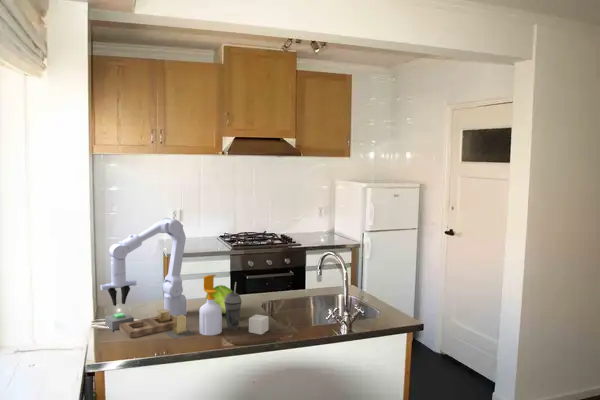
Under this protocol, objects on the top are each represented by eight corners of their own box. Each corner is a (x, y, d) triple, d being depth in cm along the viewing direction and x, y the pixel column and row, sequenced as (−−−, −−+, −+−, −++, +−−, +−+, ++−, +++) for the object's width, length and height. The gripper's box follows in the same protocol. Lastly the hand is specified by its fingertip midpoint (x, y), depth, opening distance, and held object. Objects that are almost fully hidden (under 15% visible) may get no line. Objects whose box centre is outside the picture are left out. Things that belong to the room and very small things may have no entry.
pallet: (170, 320, 225) (169, 313, 225) (182, 328, 216) (182, 321, 215) (119, 331, 211) (119, 324, 211) (130, 339, 202) (130, 332, 202)
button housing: (126, 321, 223) (126, 312, 223) (133, 326, 216) (133, 317, 216) (105, 325, 218) (105, 316, 217) (112, 331, 211) (112, 321, 210)
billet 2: (181, 330, 211) (181, 313, 210) (186, 333, 208) (186, 316, 207) (172, 332, 209) (172, 315, 208) (177, 335, 206) (176, 318, 205)
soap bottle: (203, 338, 204) (203, 277, 202) (196, 330, 213) (196, 272, 210) (224, 334, 209) (224, 275, 206) (217, 327, 217) (217, 270, 214)
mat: (184, 328, 215) (184, 327, 215) (194, 335, 208) (194, 333, 208) (164, 333, 209) (164, 332, 209) (173, 339, 202) (173, 338, 202)
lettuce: (211, 322, 223) (211, 296, 222) (203, 309, 242) (203, 284, 241) (242, 319, 227) (242, 293, 226) (232, 306, 246) (232, 282, 245)
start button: (122, 319, 219) (122, 312, 219) (125, 321, 217) (125, 314, 216) (113, 321, 217) (113, 314, 217) (116, 323, 214) (116, 316, 214)
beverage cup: (224, 325, 219) (224, 279, 217) (241, 325, 220) (241, 279, 218) (223, 331, 212) (223, 284, 210) (241, 331, 213) (241, 284, 211)
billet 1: (166, 324, 220) (165, 308, 219) (170, 327, 216) (169, 311, 216) (157, 326, 217) (157, 310, 216) (161, 329, 214) (160, 313, 213)
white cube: (255, 328, 217) (256, 314, 217) (268, 330, 215) (268, 316, 214) (248, 332, 212) (248, 318, 211) (261, 334, 209) (261, 320, 209)
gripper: (131, 268, 223) (132, 299, 224) (97, 273, 214) (98, 305, 215) (138, 271, 217) (138, 303, 218) (103, 276, 208) (103, 309, 209)
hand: (119, 304), depth 216 cm, fingers open, 3 cm apart
